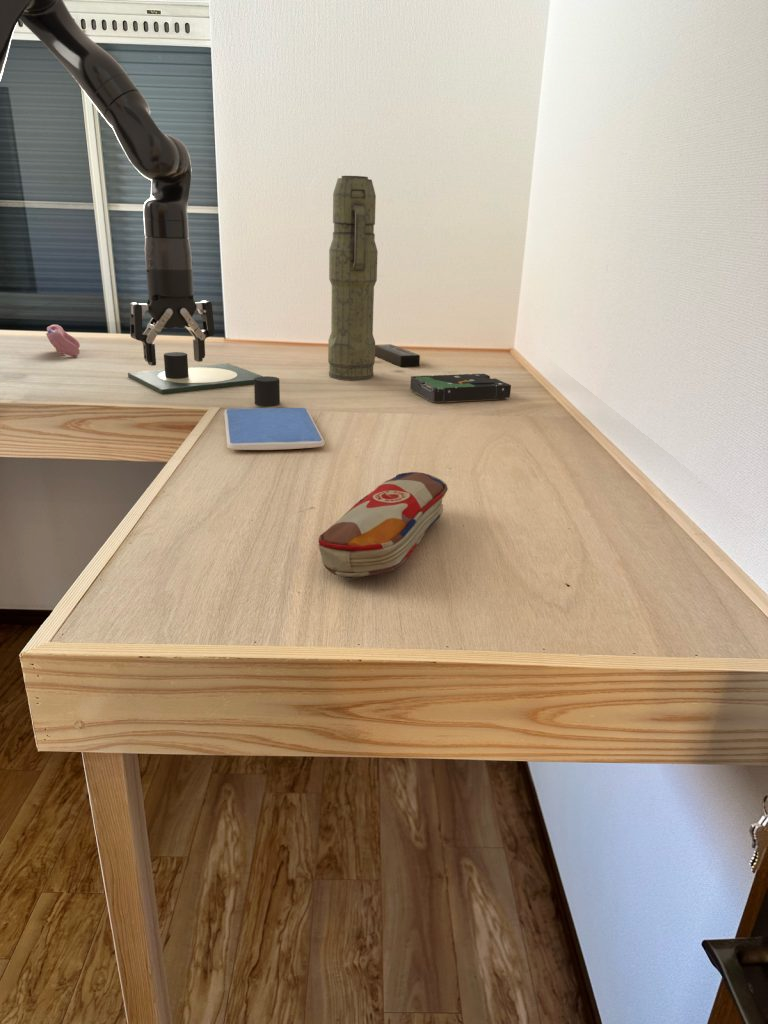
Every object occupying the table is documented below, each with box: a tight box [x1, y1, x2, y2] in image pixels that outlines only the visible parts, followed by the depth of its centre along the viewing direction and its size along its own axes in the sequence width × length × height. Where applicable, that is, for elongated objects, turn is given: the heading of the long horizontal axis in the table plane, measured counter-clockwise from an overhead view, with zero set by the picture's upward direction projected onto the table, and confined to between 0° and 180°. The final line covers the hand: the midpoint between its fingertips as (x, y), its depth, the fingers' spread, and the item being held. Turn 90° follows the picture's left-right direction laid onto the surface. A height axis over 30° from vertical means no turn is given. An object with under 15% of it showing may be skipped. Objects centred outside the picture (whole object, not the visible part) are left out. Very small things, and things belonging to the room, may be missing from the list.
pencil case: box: [318, 471, 449, 580], centre depth 67 cm, size 11×20×5 cm, turn 146°
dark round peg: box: [163, 351, 189, 379], centre depth 129 cm, size 4×4×4 cm
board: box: [127, 363, 263, 395], centre depth 132 cm, size 20×16×1 cm
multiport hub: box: [375, 343, 421, 368], centre depth 157 cm, size 4×14×2 cm, turn 25°
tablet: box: [223, 407, 326, 451], centre depth 101 cm, size 19×13×1 cm, turn 13°
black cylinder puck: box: [253, 375, 281, 407], centre depth 117 cm, size 4×4×4 cm
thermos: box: [327, 175, 379, 381], centre depth 134 cm, size 9×12×35 cm
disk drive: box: [409, 373, 512, 403], centre depth 127 cm, size 10×3×15 cm
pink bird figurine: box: [45, 324, 81, 357], centre depth 151 cm, size 10×5×7 cm, turn 21°
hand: (175, 362), depth 128 cm, fingers open, 8 cm apart
